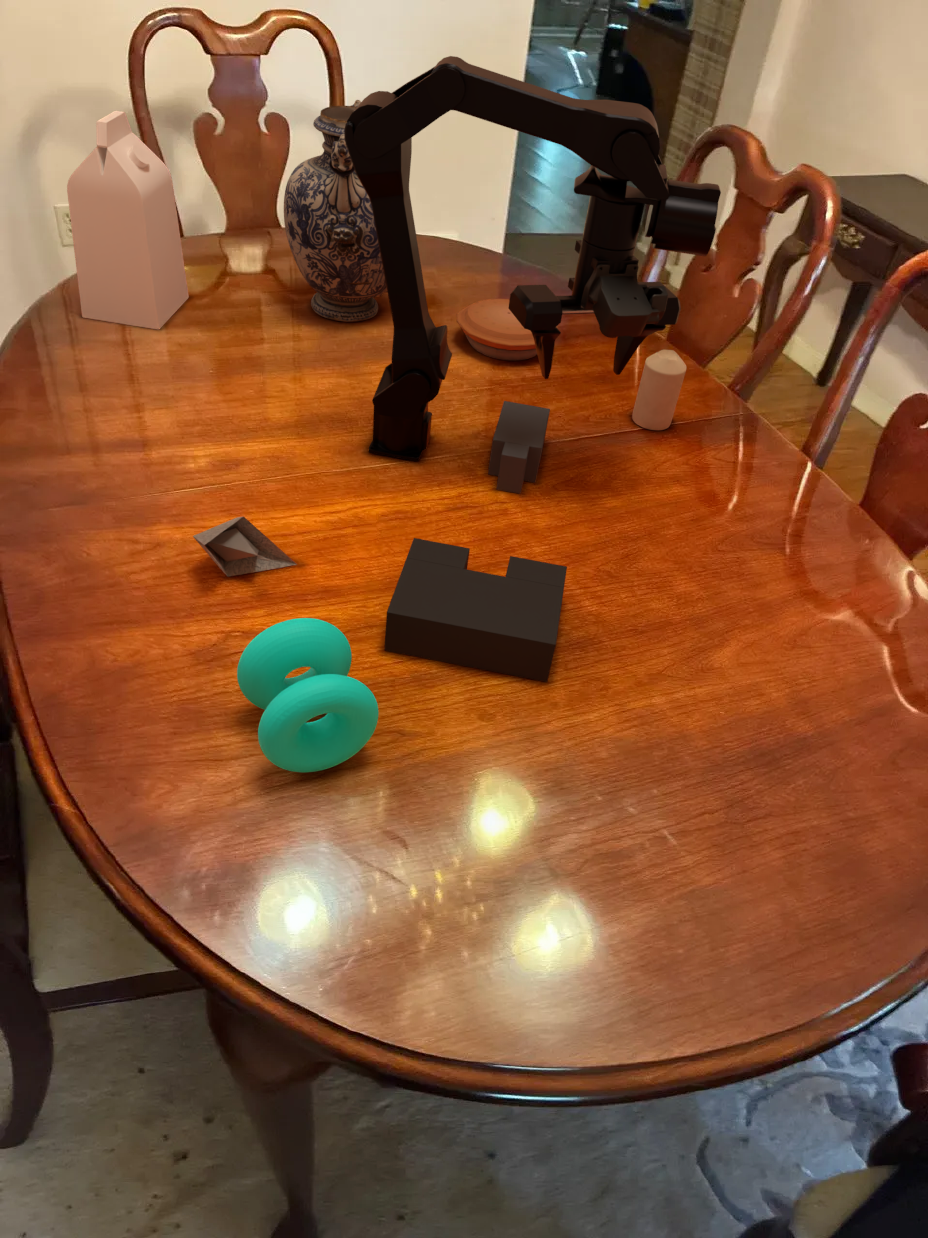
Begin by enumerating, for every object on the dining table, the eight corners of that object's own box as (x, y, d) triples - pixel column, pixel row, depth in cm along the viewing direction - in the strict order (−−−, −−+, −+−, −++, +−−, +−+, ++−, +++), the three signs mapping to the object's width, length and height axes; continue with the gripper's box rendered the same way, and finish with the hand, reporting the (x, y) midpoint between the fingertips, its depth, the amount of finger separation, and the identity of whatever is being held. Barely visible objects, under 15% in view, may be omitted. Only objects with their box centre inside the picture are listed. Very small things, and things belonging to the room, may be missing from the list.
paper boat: (269, 519, 101) (324, 538, 96) (254, 576, 102) (308, 598, 96) (175, 498, 92) (231, 519, 86) (160, 561, 92) (214, 585, 87)
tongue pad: (484, 487, 112) (489, 452, 109) (499, 434, 122) (504, 400, 119) (532, 496, 112) (539, 461, 109) (543, 442, 122) (550, 408, 118)
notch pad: (384, 650, 89) (386, 612, 86) (410, 575, 98) (413, 537, 95) (547, 682, 88) (555, 644, 85) (558, 603, 97) (567, 566, 94)
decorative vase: (400, 344, 139) (412, 141, 120) (275, 331, 138) (268, 125, 119) (408, 287, 155) (420, 101, 136) (296, 275, 153) (293, 85, 135)
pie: (571, 343, 145) (577, 313, 141) (523, 378, 134) (528, 346, 131) (488, 313, 150) (492, 282, 147) (435, 344, 140) (438, 312, 136)
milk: (116, 285, 144) (88, 99, 126) (188, 297, 143) (170, 111, 126) (82, 317, 135) (47, 121, 117) (159, 329, 134) (135, 134, 117)
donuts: (265, 792, 76) (260, 710, 69) (237, 706, 82) (229, 624, 76) (380, 761, 79) (386, 680, 73) (344, 681, 86) (346, 600, 79)
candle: (669, 433, 127) (689, 366, 120) (630, 426, 127) (647, 358, 120) (671, 414, 131) (689, 348, 124) (632, 407, 131) (649, 341, 125)
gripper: (557, 272, 90) (532, 415, 100) (722, 269, 95) (683, 404, 106) (517, 230, 97) (498, 366, 108) (672, 229, 103) (640, 359, 113)
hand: (581, 375), depth 108 cm, fingers open, 9 cm apart
